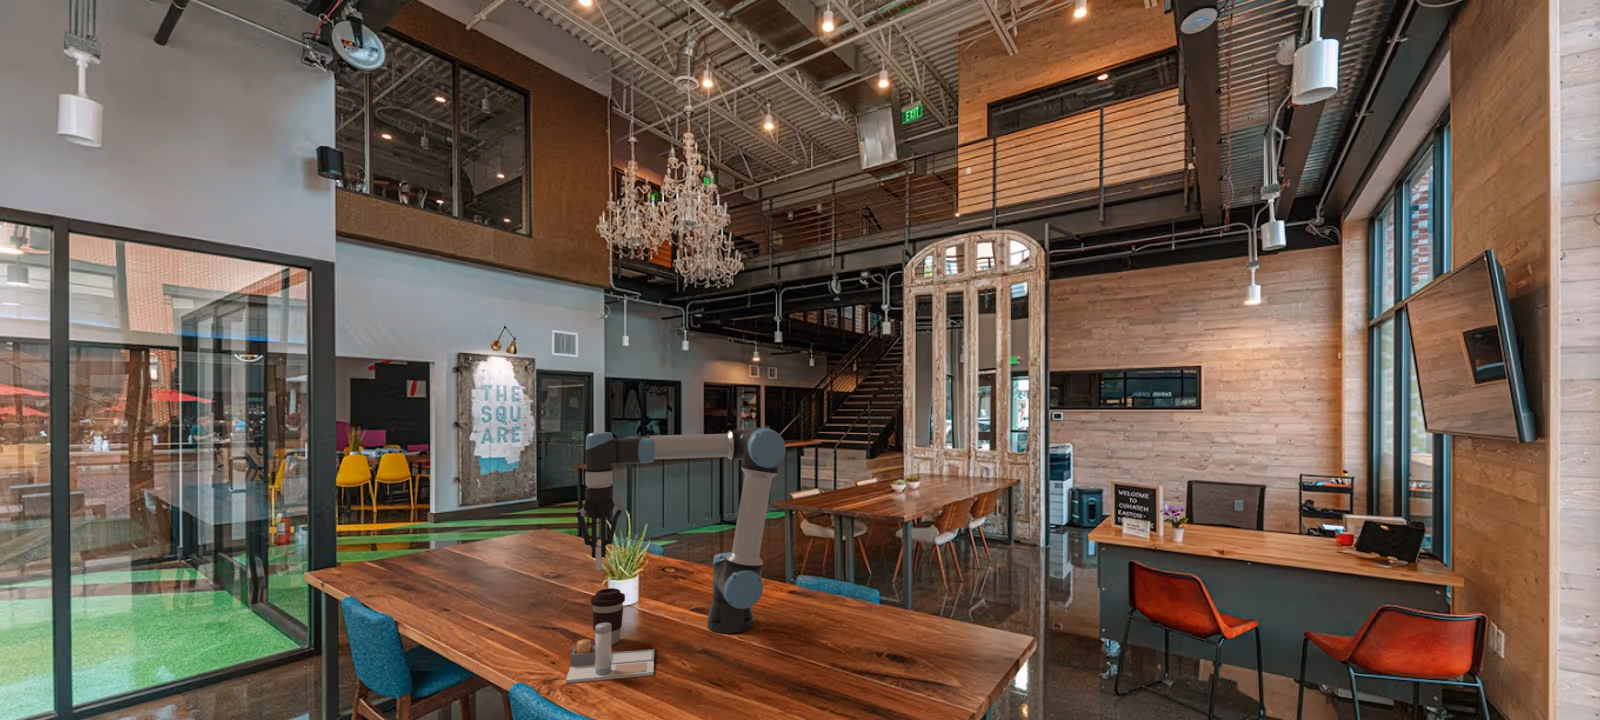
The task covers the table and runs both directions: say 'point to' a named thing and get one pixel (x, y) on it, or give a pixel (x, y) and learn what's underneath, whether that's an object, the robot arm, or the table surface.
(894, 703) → the table surface
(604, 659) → the cylinder
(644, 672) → the sheet board
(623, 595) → the coffee cup
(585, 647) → the button
